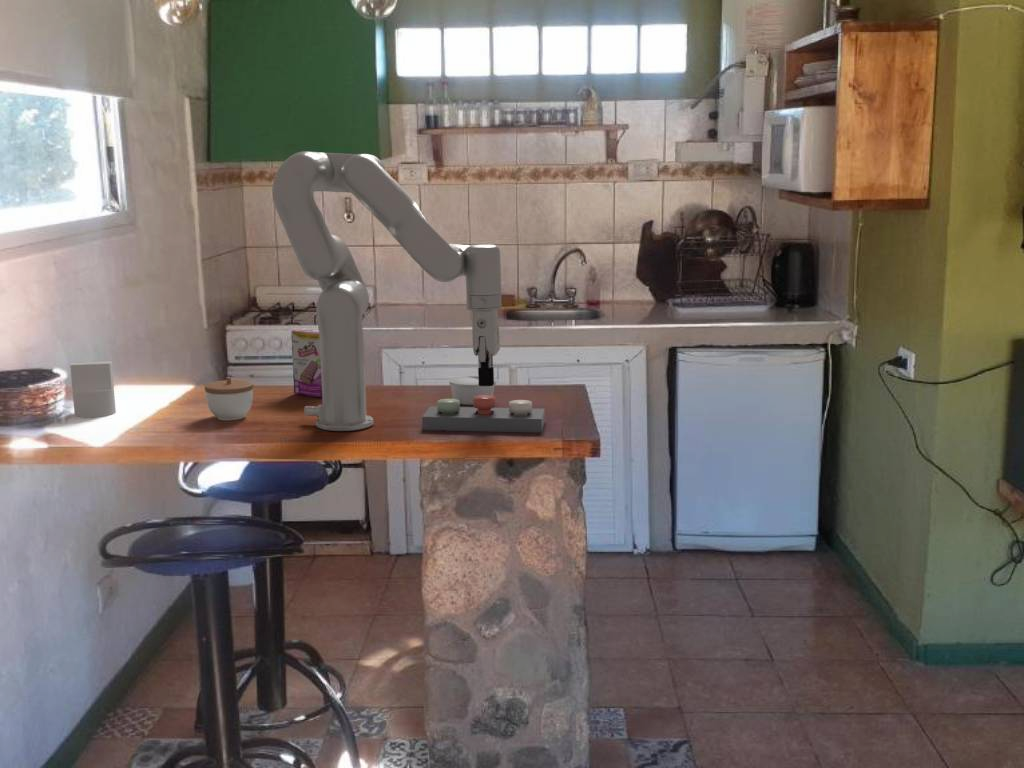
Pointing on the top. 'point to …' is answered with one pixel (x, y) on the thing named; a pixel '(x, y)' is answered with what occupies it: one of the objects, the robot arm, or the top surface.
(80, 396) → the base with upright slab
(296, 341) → the candy bar box
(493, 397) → the button red
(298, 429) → the top surface
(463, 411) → the button panel
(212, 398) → the lidded jar
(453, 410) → the button sage
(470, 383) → the ramekin
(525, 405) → the button cream
